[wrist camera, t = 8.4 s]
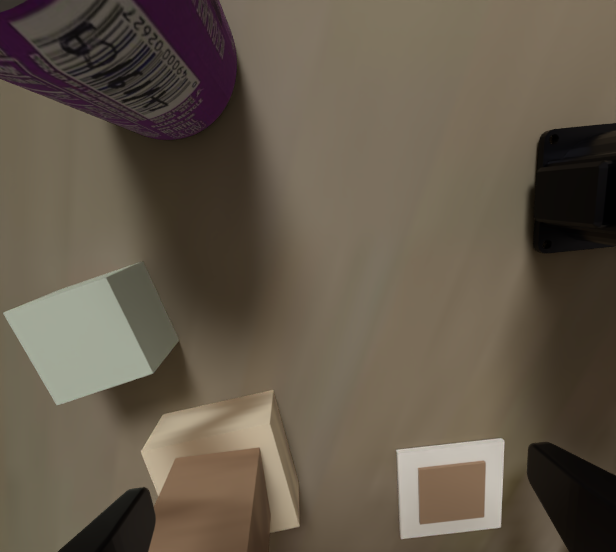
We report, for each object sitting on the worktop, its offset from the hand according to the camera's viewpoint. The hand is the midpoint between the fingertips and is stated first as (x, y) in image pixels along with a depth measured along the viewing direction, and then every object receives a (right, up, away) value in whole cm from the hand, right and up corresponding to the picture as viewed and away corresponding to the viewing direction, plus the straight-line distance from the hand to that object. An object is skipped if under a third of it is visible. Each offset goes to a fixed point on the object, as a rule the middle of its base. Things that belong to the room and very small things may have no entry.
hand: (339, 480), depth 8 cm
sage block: (-11, +3, +12) cm, 17 cm away
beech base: (-6, -6, +14) cm, 17 cm away
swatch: (+9, -10, +15) cm, 20 cm away
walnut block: (-5, -7, +11) cm, 14 cm away
